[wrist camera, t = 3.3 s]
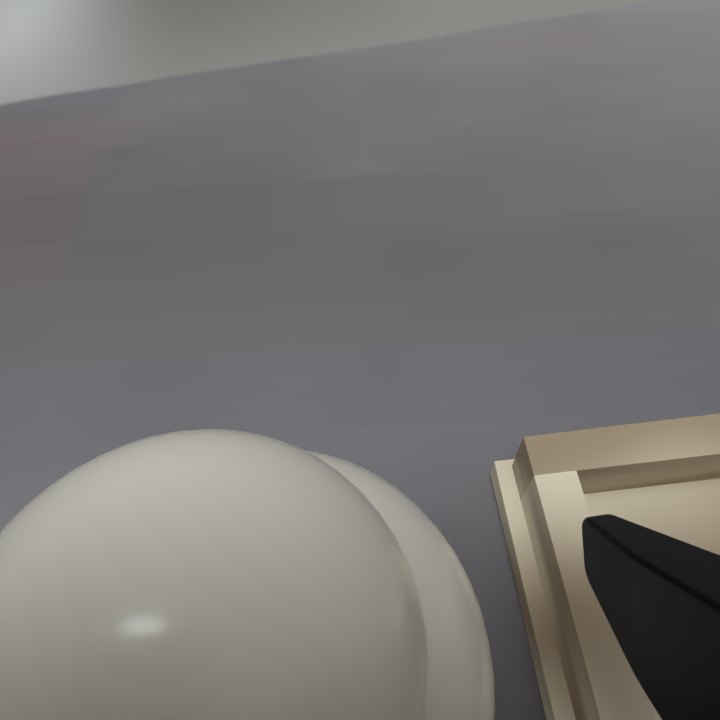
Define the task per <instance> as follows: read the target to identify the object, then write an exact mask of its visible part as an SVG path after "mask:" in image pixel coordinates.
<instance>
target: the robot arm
mask: <svg viewBox="0 0 720 720" xmlns="http://www.w3.org/2000/svg"><path fill="white" fill-rule="evenodd" d="M582 538H583V553H584V566H585V571H586V575H587V578H588V581H589V583H590V585H591V587H592V589H593V591H594V593H595V595H596V598H597V600H598V602H599V604H600V606H601V608H602V610H603V612H604V614H605V616H606V618H607V620H608V622H609V624H610V626H611V628H612V630H613V632H614V634H615V636H616V639H617V641H618V643H619V645H620V647H621V649H622V651H623V653H624V655H625V657H626V659H627V661H628V663H629V665H630V667H631V669H632V671H633V673H634V675H635V676H636V678H637V680H638V681H639V683H640V685H641V687H642V688H643V690H644V692H645V693H646V695H647V696H648V698H649V700H650V701H651V703H652V705H653V706H654V708H655V709H656V711H657V713H658V714H659V716H660V717H661V719H662V720H720V555H718V554H715V553H713V552H710V551H707V550H705V549H702V548H699V547H697V546H694V545H691V544H689V543H686V542H684V541H681V540H678V539H676V538H673V537H670V536H668V535H665V534H662V533H660V532H657V531H654V530H652V529H649V528H646V527H644V526H641V525H638V524H636V523H633V522H631V521H628V520H625V519H623V518H620V517H617V516H615V515H612V514H604V515H597V516H591V517H587V518H585V519H584V520H583V523H582Z"/></svg>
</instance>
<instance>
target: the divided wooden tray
mask: <svg viewBox="0 0 720 720" xmlns="http://www.w3.org/2000/svg"><path fill="white" fill-rule="evenodd" d="M490 475H491V479H492V484H493V488H494V492H495V497H496V501H497V506H498V510H499V514H500V519H501V523H502V528H503V532H504V536H505V541H506V545H507V550H508V554H509V558H510V563H511V567H512V572H513V576H514V580H515V585H516V589H517V594H518V598H519V602H520V607H521V611H522V616H523V620H524V624H525V629H526V633H527V638H528V642H529V646H530V651H531V655H532V660H533V664H534V668H535V673H536V677H537V682H538V686H539V690H540V695H541V699H542V704H543V708H544V712H545V717H546V720H662V719H661V717H660V716H659V714H658V713H657V711H656V709H655V708H654V706H653V705H652V703H651V701H650V700H649V698H648V696H647V695H646V693H645V692H644V690H643V688H642V687H641V685H640V683H639V681H638V680H637V678H636V676H635V675H634V673H633V671H632V669H631V667H630V665H629V663H628V661H627V659H626V657H625V655H624V653H623V651H622V649H621V647H620V645H619V643H618V641H617V639H616V636H615V634H614V632H613V630H612V628H611V626H610V624H609V622H608V620H607V618H606V616H605V614H604V612H603V610H602V608H601V606H600V604H599V602H598V600H597V598H596V595H595V593H594V591H593V589H592V587H591V585H590V583H589V581H588V578H587V575H586V571H585V566H584V553H583V538H582V523H583V520H584V519H585V518H587V517H591V516H597V515H604V514H612V515H615V516H617V517H620V518H623V519H625V520H628V521H631V522H633V523H636V524H638V525H641V526H644V527H646V528H649V529H652V530H654V531H657V532H660V533H662V534H665V535H668V536H670V537H673V538H676V539H678V540H681V541H684V542H686V543H689V544H691V545H694V546H697V547H699V548H702V549H705V550H707V551H710V552H713V553H715V554H718V555H720V414H712V415H703V416H695V417H686V418H678V419H670V420H661V421H653V422H645V423H636V424H628V425H619V426H611V427H603V428H594V429H586V430H578V431H569V432H561V433H552V434H544V435H536V436H527V437H523V440H522V442H521V445H520V447H519V450H518V452H517V455H516V457H515V459H510V460H502V461H494V464H493V467H492V470H491V473H490Z"/></svg>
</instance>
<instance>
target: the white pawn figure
mask: <svg viewBox="0 0 720 720" xmlns="http://www.w3.org/2000/svg"><path fill="white" fill-rule="evenodd" d="M494 719H495V690H494V672H493V665H492V657H491V650H490V643H489V639H488V635H487V631H486V627H485V623H484V619H483V615H482V611H481V608H480V606H479V603H478V600H477V598H476V595H475V592H474V590H473V587H472V585H471V582H470V580H469V578H468V576H467V574H466V572H465V570H464V568H463V567H462V565H461V563H460V561H459V559H458V557H457V555H456V553H455V552H454V551H453V549H452V548H451V546H450V545H449V543H448V542H447V540H446V539H445V538H444V536H443V535H442V533H441V532H440V530H439V529H438V528H437V527H436V526H435V525H434V524H433V522H432V521H431V520H430V519H429V518H428V517H427V516H426V515H425V514H424V512H423V511H422V510H421V509H420V508H419V507H418V506H417V505H416V504H415V503H414V502H413V501H411V500H410V499H409V498H408V497H407V496H406V495H404V494H403V493H402V492H401V491H400V490H399V489H397V488H396V487H394V486H393V485H391V484H390V483H388V482H387V481H385V480H384V479H382V478H381V477H379V476H378V475H376V474H374V473H372V472H370V471H368V470H366V469H364V468H362V467H360V466H358V465H356V464H354V463H351V462H348V461H345V460H342V459H339V458H336V457H333V456H330V455H326V454H322V453H317V452H312V451H307V450H302V449H300V448H298V447H296V446H294V445H291V444H288V443H285V442H282V441H279V440H276V439H273V438H270V437H267V436H263V435H259V434H254V433H249V432H244V431H238V430H223V429H204V430H188V431H177V432H172V433H166V434H161V435H155V436H151V437H148V438H145V439H141V440H138V441H135V442H131V443H128V444H126V445H124V446H121V447H119V448H116V449H114V450H112V451H109V452H107V453H105V454H102V455H100V456H98V457H96V458H94V459H93V460H91V461H89V462H87V463H85V464H83V465H82V466H80V467H78V468H76V469H74V470H72V471H71V472H69V473H68V474H67V475H65V476H64V477H62V478H61V479H59V480H58V481H56V482H55V483H53V484H52V485H50V486H49V487H48V488H47V489H45V490H44V491H43V492H42V493H41V494H39V495H38V496H37V497H36V498H34V499H33V500H32V501H31V502H30V503H28V504H27V505H26V506H25V507H24V508H23V509H22V510H21V511H20V512H19V513H18V514H17V515H16V516H15V517H14V518H13V519H12V520H11V521H10V522H9V523H8V524H7V525H6V526H5V527H4V529H3V530H2V531H1V532H0V720H494Z"/></svg>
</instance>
